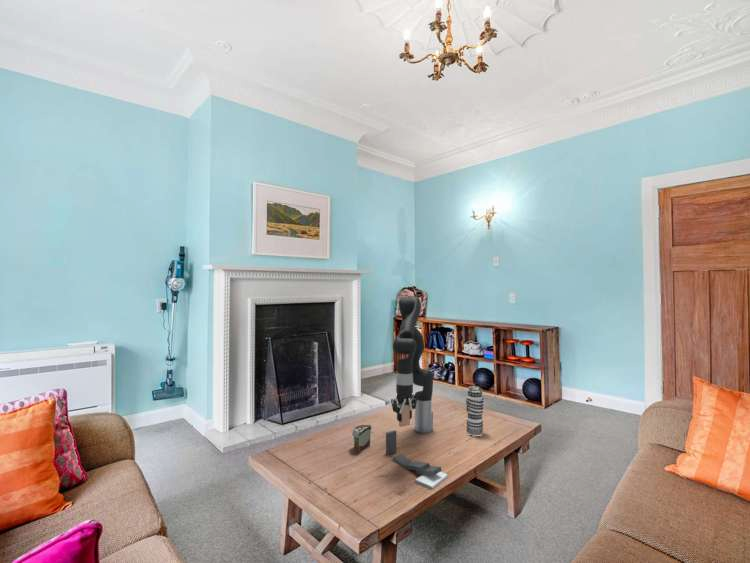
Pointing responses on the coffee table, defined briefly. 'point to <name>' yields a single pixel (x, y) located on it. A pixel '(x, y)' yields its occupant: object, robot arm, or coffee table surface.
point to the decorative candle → (474, 411)
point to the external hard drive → (431, 480)
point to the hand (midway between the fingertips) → (404, 419)
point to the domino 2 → (405, 416)
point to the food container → (361, 437)
